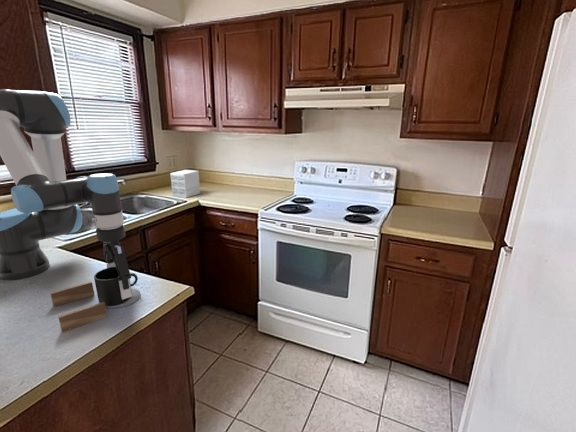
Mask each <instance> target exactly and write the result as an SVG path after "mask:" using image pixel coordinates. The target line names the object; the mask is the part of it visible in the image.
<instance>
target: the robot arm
mask: <svg viewBox="0 0 576 432" xmlns="http://www.w3.org/2000/svg"><path fill="white" fill-rule="evenodd" d="M70 126H71V115H70V112H69V108H68V107H67V105H66V102H65V100H64V99H63V98H62V97H61V96H60V95H59V94H58V93H54V92H48V91H41V90H19V89H17V90H16V89H8V88H7V89H6V88H1V89H0V158H1V159H2V162H3V163H4V165H5V167H6V169H7V171H8V173H9V175H10V177H11V178H12V180H13V182H14V186H13V187H11V189H10V195H11V199H12V202H13V205H14V208H11V209H7V210H4V211H1V212H0V279H1V280H7V281H9V280H10V281H11V280H20V279H25V278H29V277H33V276H36V275H38V274H41V273H43V272H45V271H46V270H48V269H49V267H51V264H50V260H49V258H48V257H47V256H46V254H45V253H44V251H43V249H42V248H41V246H40V242H39V241H43V240H46V239H47V240H48V239H52V238H57V237H60V236H67V235H70V234H73V233H75V232H78V231H79V230H80V229H81V227H82V225H83V214H82V212H81V211H82V210H81V207H80V206H79V205H80V204H81V205H82V204H87V203H89V204H90V205H91V209H92V215H93V217H92V218H91V221H92V222H94V226H95V232H96V238H97V240H98V242H102V243H103V244H102V247H103V260H104V261H105V263H106V264H105V265H106V268H110V267H116V269H117V272H118V275H119V279H117V281H119V285H120V292H121V298H122V300H123V299H126V298H129V297H132V294H131V288H132V287H130V284H131V280H129V279H132V276H131V275H130V273H131V271H130V268H129V265H128V260H127V257H126V253H125V247H124V245H123V244H122V243H120V240H122V239H124V238H125V237H126V230H125V229H126V228H125V225H124V223H125V220H124V213H123V209H122V202H121V195H120V186H119V183H118V177H117V175H115V174H113V173H107V172H106V173H105V172H104V173H101V172H100V173H94V174H90V175H88V176H87V175H83V176H82V175H81V176H77V177H76V178H73V179H67V174H66V166H65V160H64V159H65V158H64V152H63V151H64V150H63V144H62V139H61V138H62V137H63V136H64V134H65V133H66V129H65V128H68V127H70ZM21 128H23V131H24V133H25V134H27V135H28V136H29V137H30V138H31V145H32V148H31V145H30V144H29V142H28V141H27V139H26V136H25V135H24V134H23V132H22V131H21Z"/></svg>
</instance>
